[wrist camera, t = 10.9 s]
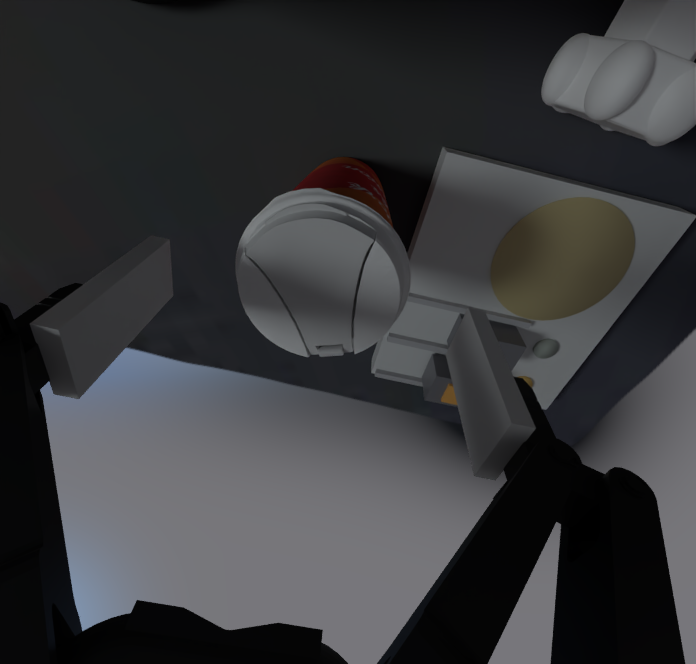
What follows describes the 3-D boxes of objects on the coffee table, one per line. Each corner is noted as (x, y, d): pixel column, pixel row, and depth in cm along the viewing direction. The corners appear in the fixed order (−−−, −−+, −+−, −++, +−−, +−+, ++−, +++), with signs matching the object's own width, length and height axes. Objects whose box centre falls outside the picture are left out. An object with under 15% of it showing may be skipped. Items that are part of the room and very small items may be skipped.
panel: (371, 359, 38) (370, 395, 34) (442, 146, 26) (454, 161, 22) (539, 395, 39) (558, 433, 35) (678, 206, 27) (730, 231, 23)
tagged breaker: (421, 377, 36) (425, 402, 33) (432, 353, 34) (436, 378, 31) (471, 387, 36) (479, 413, 33) (484, 364, 34) (493, 390, 31)
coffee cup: (401, 243, 30) (416, 362, 18) (303, 253, 32) (255, 372, 19) (394, 128, 26) (408, 184, 13) (279, 145, 27) (195, 211, 15)
